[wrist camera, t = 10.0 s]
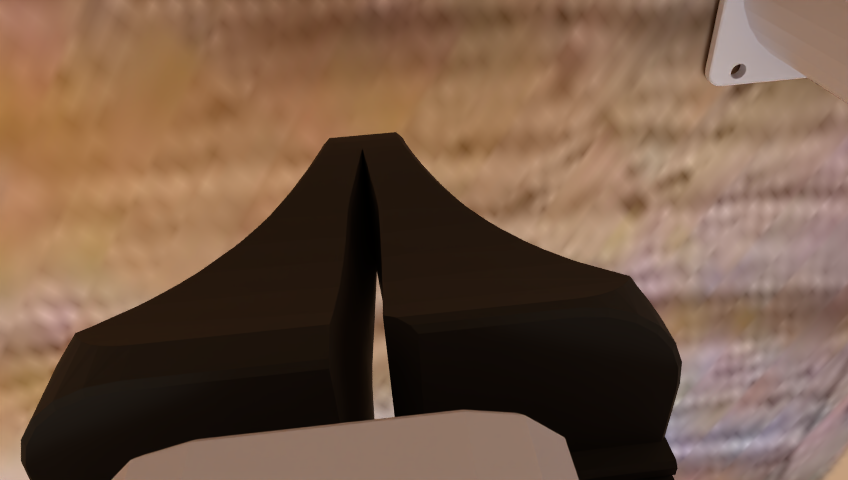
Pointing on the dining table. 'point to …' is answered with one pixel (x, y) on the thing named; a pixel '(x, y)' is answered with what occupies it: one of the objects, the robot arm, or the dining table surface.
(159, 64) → the dining table surface
